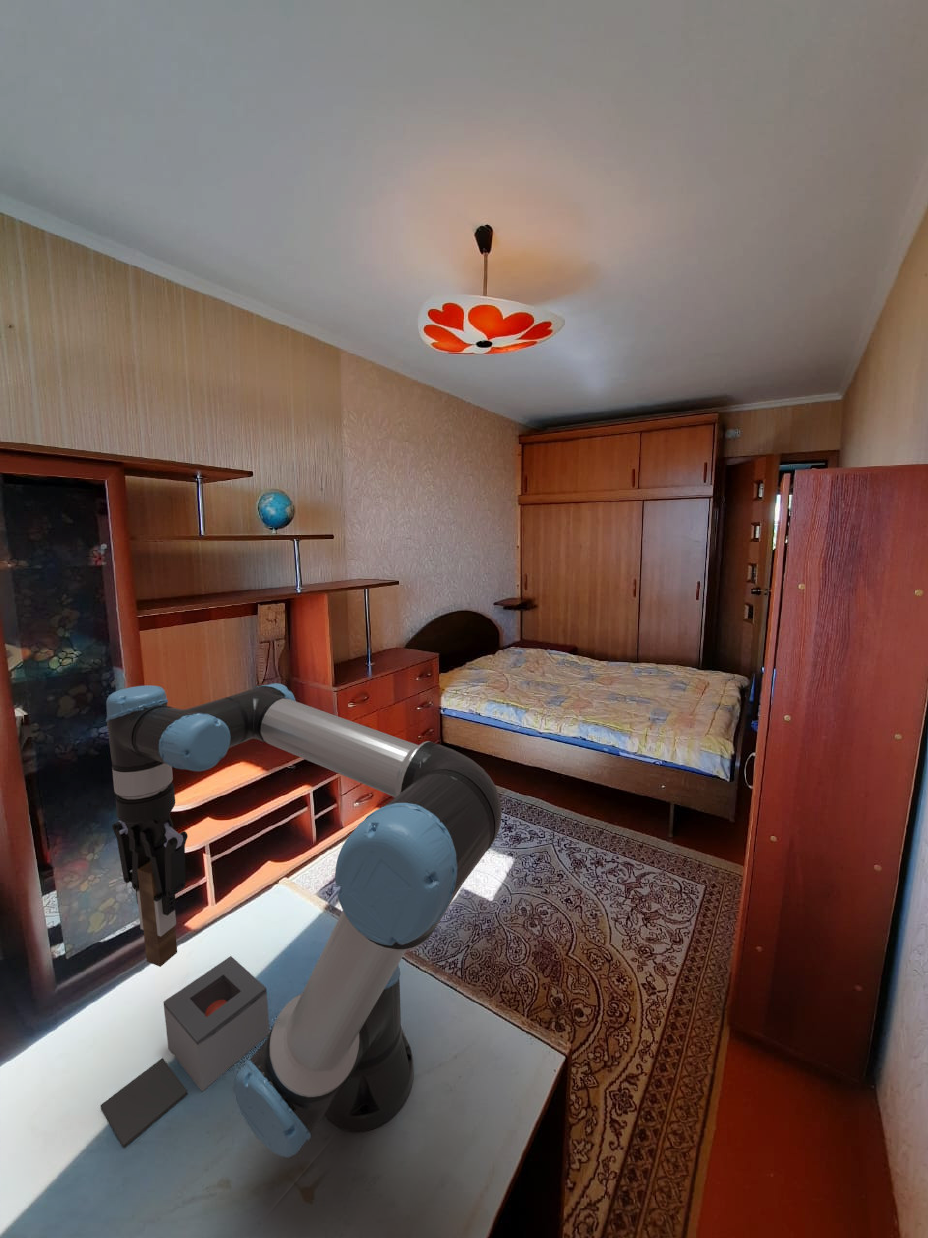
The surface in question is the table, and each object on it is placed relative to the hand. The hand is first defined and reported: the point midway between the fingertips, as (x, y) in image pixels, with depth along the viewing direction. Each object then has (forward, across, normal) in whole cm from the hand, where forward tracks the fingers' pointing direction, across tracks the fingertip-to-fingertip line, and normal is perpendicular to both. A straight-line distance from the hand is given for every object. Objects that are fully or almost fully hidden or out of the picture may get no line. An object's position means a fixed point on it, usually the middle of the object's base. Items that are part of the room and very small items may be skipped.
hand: (158, 926), depth 79 cm
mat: (+27, 0, +5) cm, 27 cm away
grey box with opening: (+27, -3, -7) cm, 28 cm away
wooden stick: (+6, 0, 0) cm, 6 cm away
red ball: (+25, -3, -7) cm, 26 cm away
